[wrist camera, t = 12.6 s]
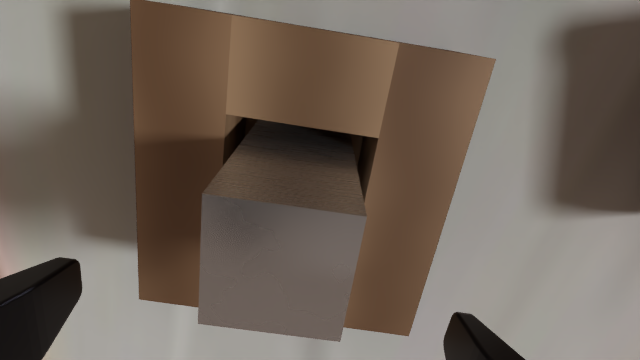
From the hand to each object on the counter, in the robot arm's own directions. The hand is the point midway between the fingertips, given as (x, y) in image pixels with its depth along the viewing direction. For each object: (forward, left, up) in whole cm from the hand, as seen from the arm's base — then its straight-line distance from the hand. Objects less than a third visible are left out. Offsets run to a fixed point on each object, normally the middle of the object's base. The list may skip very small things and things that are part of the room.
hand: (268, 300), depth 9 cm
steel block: (0, 0, -10) cm, 10 cm away
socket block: (0, 0, -11) cm, 11 cm away
